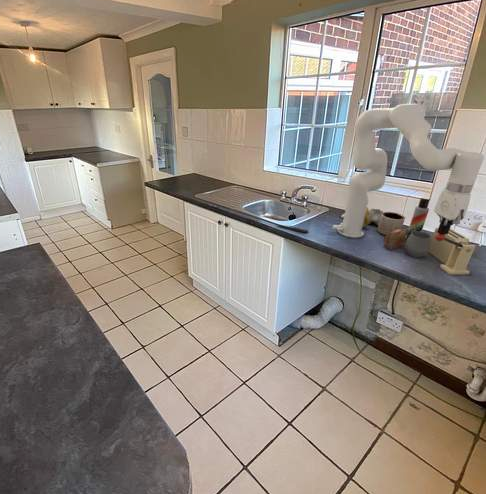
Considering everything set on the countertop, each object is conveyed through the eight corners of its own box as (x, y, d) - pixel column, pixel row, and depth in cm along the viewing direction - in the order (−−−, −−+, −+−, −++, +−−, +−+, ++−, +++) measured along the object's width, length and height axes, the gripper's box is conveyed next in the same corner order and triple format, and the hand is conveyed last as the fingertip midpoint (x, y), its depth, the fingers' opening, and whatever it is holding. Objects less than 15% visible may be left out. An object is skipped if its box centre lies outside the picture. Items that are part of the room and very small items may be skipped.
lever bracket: (449, 274, 124) (461, 246, 119) (439, 266, 130) (450, 239, 124) (469, 274, 125) (481, 246, 119) (458, 266, 130) (469, 239, 124)
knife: (277, 224, 170) (275, 226, 168) (278, 223, 170) (275, 224, 168) (307, 231, 162) (305, 233, 160) (307, 230, 162) (306, 232, 159)
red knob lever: (437, 240, 119) (442, 233, 118) (431, 237, 122) (437, 230, 120) (466, 253, 122) (472, 246, 120) (460, 249, 125) (466, 243, 123)
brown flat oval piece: (386, 251, 142) (391, 235, 138) (380, 248, 145) (384, 232, 141) (406, 244, 148) (411, 228, 145) (400, 241, 151) (405, 226, 147)
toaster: (445, 264, 132) (455, 239, 126) (427, 251, 142) (435, 227, 137) (459, 264, 132) (469, 239, 126) (439, 251, 142) (448, 227, 137)
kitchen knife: (352, 210, 191) (348, 209, 192) (352, 208, 191) (349, 207, 192) (342, 218, 178) (339, 217, 179) (343, 217, 178) (339, 216, 179)
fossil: (374, 207, 184) (394, 201, 169) (380, 224, 183) (400, 220, 169) (350, 215, 180) (368, 210, 165) (356, 233, 179) (375, 229, 165)
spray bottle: (405, 235, 157) (417, 198, 148) (408, 232, 161) (420, 195, 152) (418, 238, 154) (431, 201, 145) (420, 235, 158) (433, 198, 149)
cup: (411, 260, 135) (418, 239, 130) (398, 250, 143) (404, 230, 139) (431, 258, 136) (439, 238, 131) (416, 249, 144) (423, 229, 140)
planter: (395, 229, 165) (400, 212, 161) (403, 237, 155) (409, 220, 151) (374, 227, 166) (378, 211, 162) (381, 236, 157) (385, 218, 152)
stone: (371, 222, 168) (369, 229, 161) (351, 224, 174) (348, 231, 166) (368, 200, 164) (367, 206, 156) (348, 202, 170) (345, 209, 162)
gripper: (434, 182, 118) (420, 226, 126) (464, 193, 104) (446, 242, 112) (453, 182, 118) (438, 225, 126) (486, 193, 104) (466, 241, 112)
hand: (442, 233), depth 119 cm, fingers closed
